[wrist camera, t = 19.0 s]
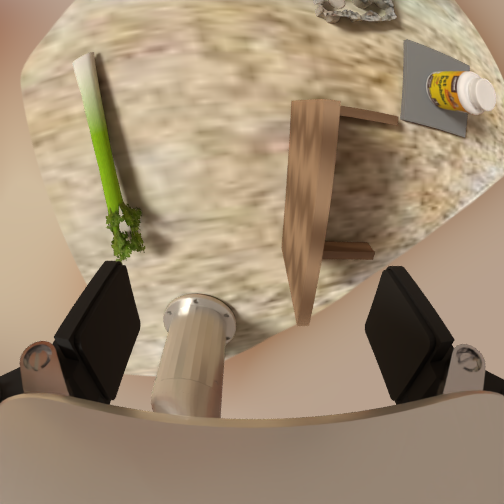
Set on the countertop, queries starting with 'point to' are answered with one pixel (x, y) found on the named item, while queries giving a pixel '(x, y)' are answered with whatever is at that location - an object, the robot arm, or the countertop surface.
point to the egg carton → (360, 1)
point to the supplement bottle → (461, 92)
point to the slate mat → (415, 94)
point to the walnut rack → (315, 197)
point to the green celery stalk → (106, 160)
